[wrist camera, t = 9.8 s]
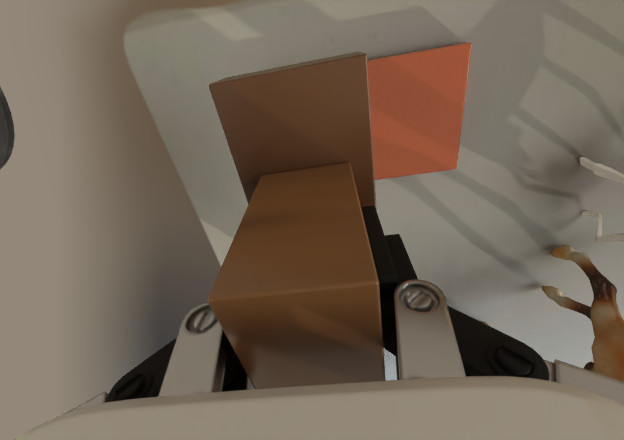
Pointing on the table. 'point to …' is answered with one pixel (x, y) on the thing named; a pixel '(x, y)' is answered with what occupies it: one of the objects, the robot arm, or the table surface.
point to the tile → (417, 109)
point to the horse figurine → (596, 315)
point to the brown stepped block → (301, 225)
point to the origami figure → (613, 176)
